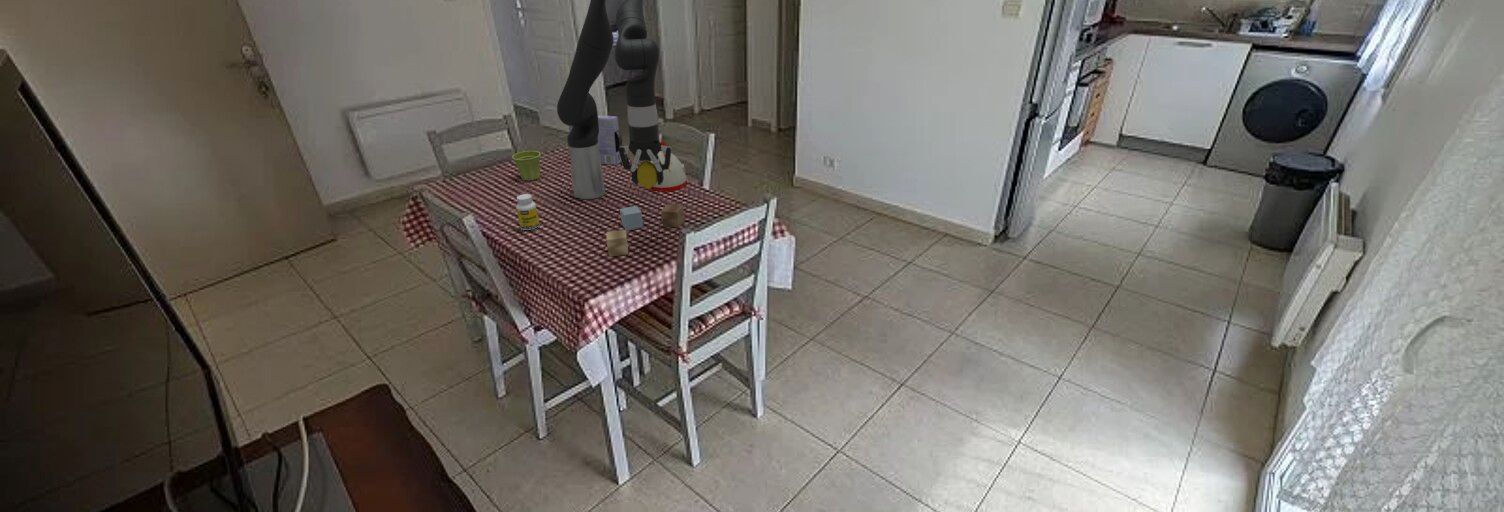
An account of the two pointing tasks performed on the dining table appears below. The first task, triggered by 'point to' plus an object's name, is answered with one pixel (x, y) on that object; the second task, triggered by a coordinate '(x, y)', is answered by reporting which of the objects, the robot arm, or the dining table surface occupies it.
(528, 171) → the plant pot
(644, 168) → the lemon
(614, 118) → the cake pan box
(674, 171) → the kitchen timer
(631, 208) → the block slate
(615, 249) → the block oak
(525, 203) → the supplement bottle
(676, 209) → the block walnut
